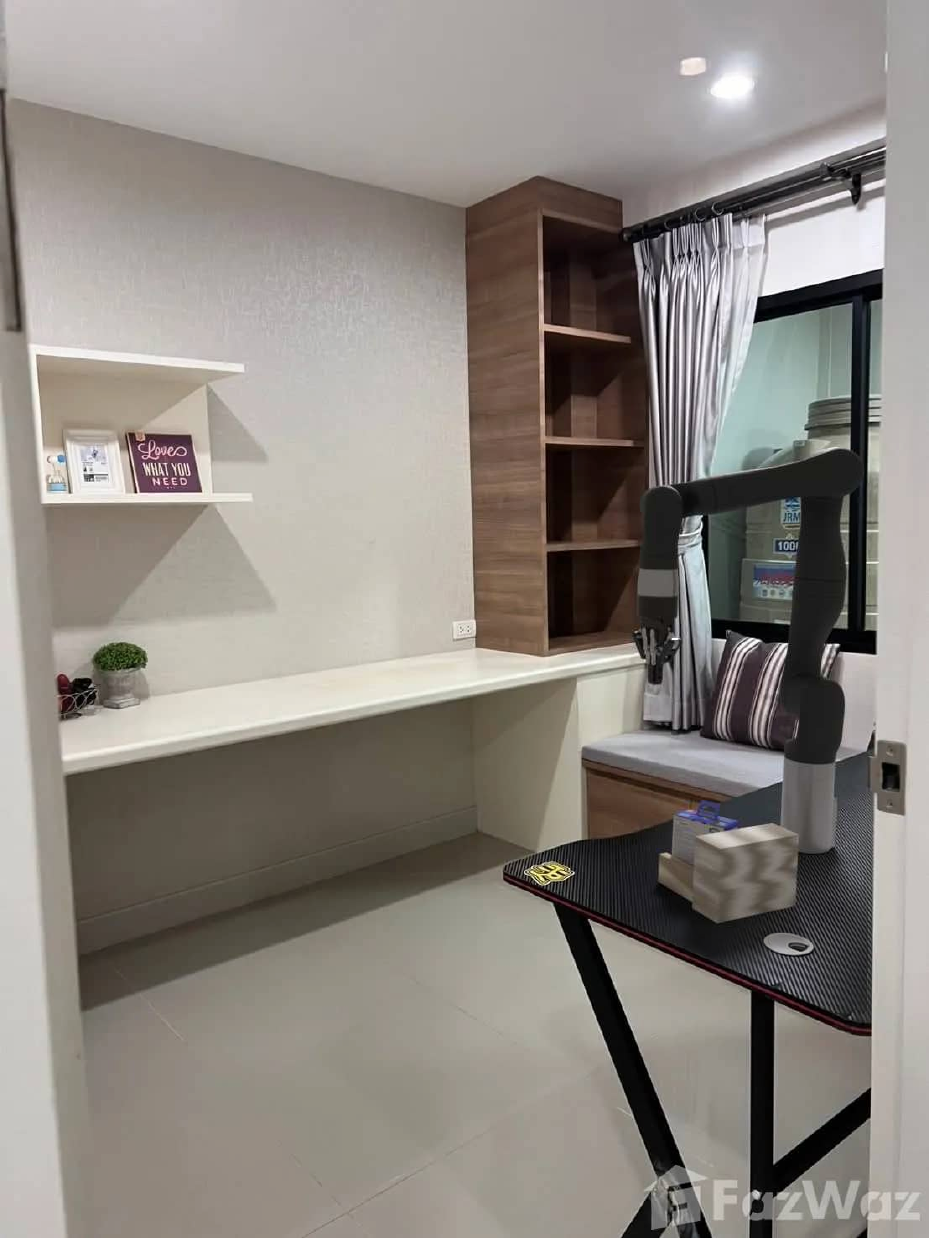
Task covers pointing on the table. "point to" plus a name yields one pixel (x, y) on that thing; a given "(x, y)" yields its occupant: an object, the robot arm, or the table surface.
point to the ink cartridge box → (696, 829)
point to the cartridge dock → (737, 872)
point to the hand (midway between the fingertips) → (654, 683)
